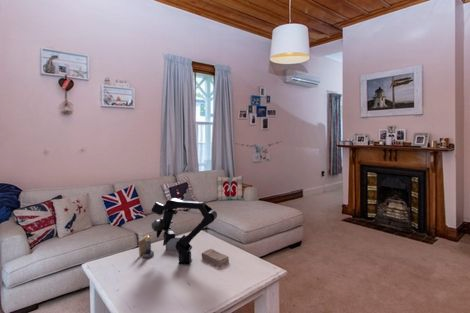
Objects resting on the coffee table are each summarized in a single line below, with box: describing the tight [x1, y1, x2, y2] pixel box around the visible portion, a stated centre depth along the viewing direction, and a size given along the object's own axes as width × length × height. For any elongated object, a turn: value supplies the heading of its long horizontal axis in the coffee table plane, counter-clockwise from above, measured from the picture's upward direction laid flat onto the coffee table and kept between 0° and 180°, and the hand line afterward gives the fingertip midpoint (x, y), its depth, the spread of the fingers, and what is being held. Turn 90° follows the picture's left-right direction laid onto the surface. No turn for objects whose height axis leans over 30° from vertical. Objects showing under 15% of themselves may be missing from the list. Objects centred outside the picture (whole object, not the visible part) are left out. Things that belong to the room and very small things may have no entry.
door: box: [138, 233, 152, 257], centre depth 184 cm, size 1×13×10 cm, turn 167°
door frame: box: [165, 235, 182, 252], centre depth 189 cm, size 25×2×9 cm, turn 77°
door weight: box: [142, 235, 155, 259], centre depth 178 cm, size 6×6×13 cm
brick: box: [201, 248, 230, 268], centre depth 171 cm, size 17×8×5 cm, turn 47°
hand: (160, 241), depth 172 cm, fingers open, 9 cm apart
